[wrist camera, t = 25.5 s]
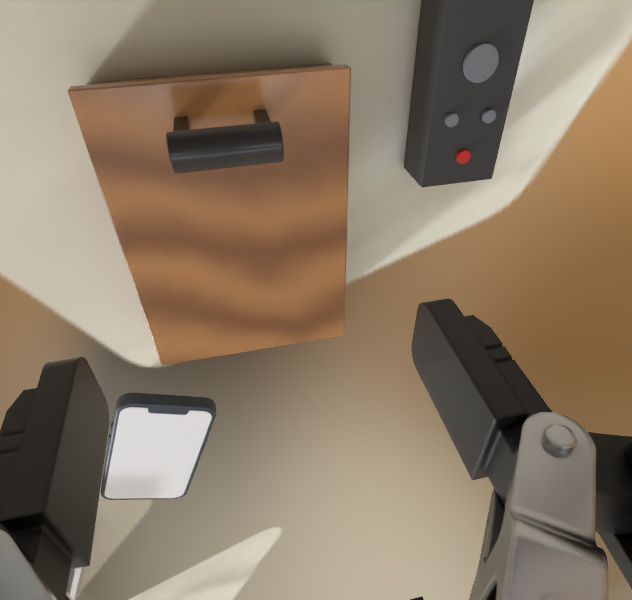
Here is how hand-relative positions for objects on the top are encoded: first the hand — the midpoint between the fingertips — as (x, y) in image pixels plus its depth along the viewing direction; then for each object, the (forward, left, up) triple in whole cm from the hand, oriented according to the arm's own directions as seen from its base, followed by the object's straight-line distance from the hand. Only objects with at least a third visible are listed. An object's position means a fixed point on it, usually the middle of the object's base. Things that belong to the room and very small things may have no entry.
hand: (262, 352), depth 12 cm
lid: (+7, -1, -18) cm, 19 cm away
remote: (+1, +15, -21) cm, 26 cm away
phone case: (+30, -16, -21) cm, 40 cm away
